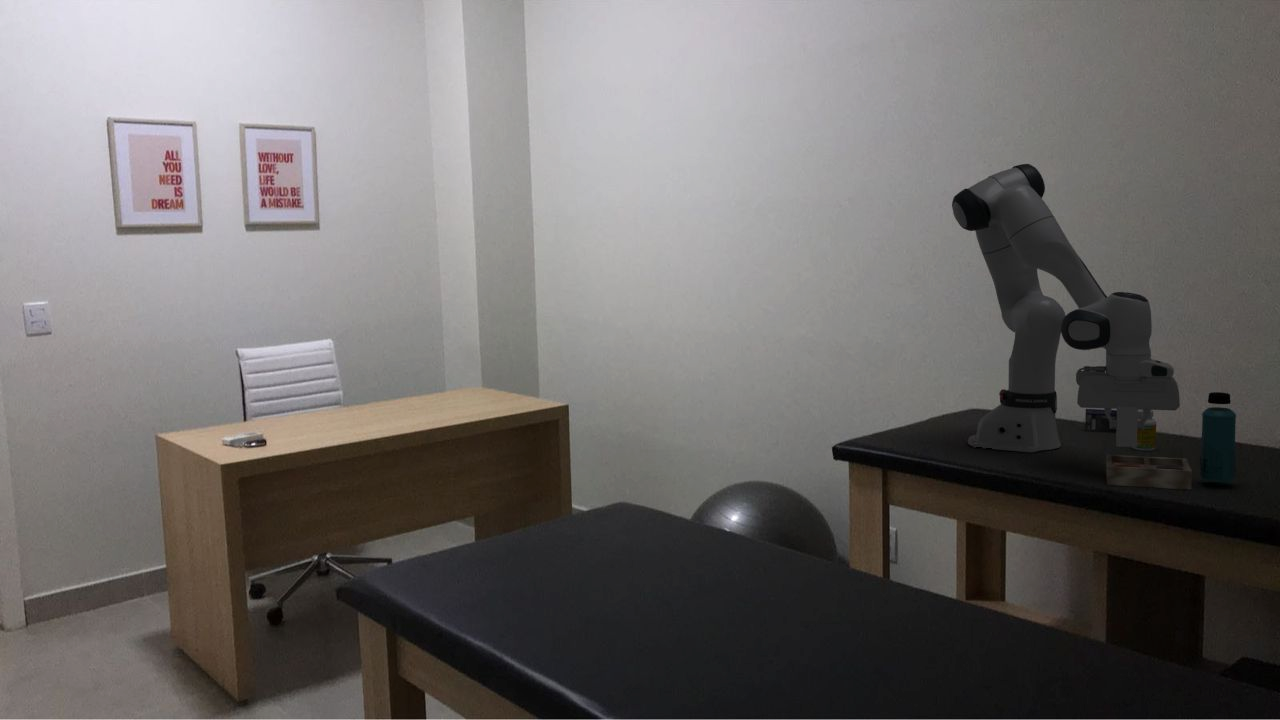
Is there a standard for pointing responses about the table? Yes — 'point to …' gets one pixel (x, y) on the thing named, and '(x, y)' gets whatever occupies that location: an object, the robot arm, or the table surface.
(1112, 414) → the mini dv tape
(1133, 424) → the plug
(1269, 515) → the table surface
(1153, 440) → the supplement bottle
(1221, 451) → the beverage bottle
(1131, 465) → the socket block
